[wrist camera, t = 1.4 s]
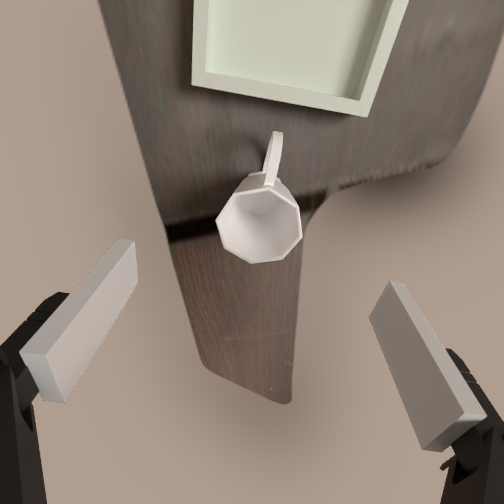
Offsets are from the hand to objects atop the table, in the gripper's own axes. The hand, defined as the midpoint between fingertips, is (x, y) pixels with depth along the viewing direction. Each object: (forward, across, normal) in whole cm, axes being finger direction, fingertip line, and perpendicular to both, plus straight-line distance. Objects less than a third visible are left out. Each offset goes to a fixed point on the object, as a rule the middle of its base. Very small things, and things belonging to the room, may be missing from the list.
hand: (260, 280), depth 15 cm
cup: (+16, 0, 0) cm, 16 cm away
